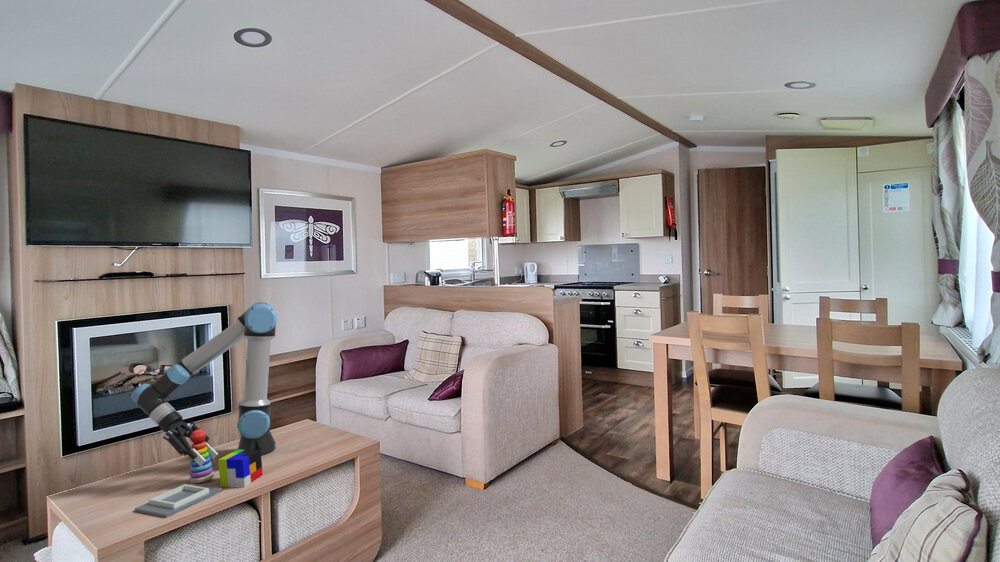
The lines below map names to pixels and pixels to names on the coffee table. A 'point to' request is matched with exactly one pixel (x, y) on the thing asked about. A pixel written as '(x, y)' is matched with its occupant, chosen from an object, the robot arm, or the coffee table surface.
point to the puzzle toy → (240, 468)
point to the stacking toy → (199, 444)
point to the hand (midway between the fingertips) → (209, 459)
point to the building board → (177, 500)
